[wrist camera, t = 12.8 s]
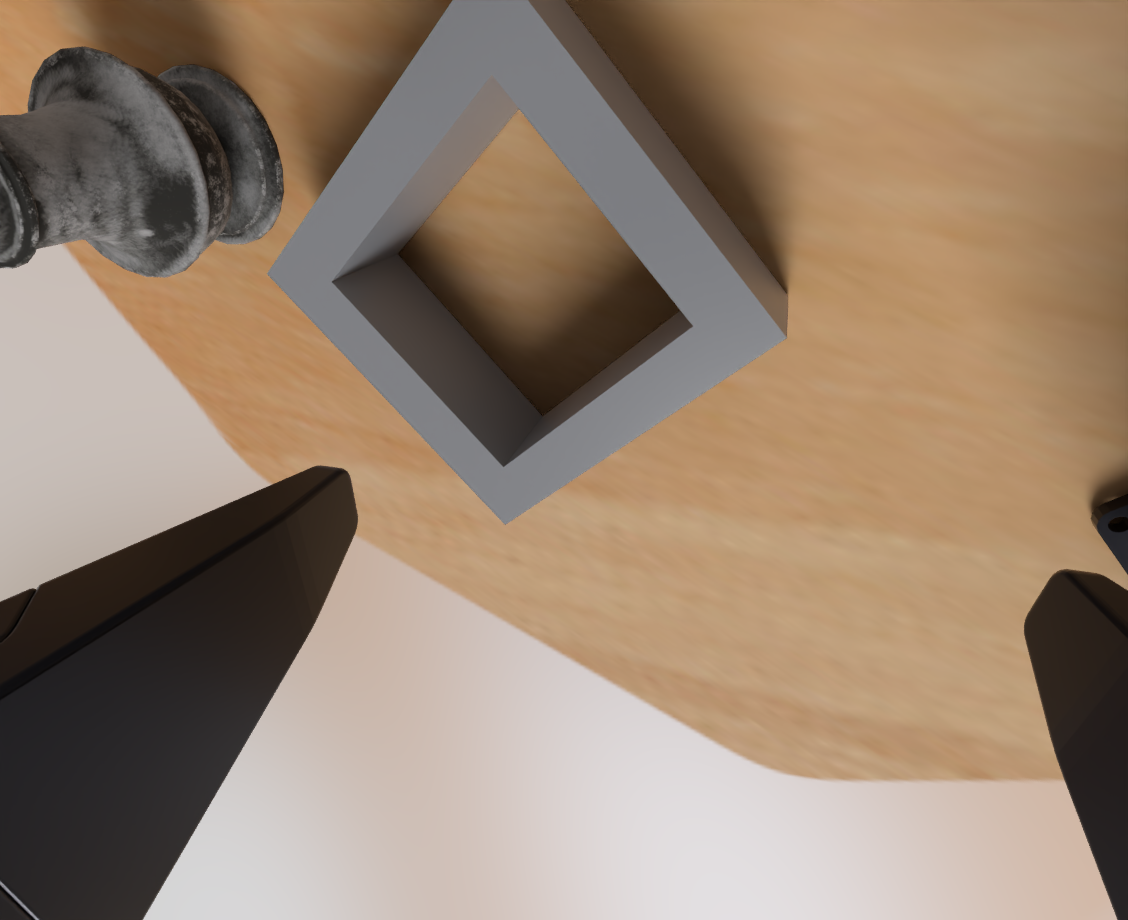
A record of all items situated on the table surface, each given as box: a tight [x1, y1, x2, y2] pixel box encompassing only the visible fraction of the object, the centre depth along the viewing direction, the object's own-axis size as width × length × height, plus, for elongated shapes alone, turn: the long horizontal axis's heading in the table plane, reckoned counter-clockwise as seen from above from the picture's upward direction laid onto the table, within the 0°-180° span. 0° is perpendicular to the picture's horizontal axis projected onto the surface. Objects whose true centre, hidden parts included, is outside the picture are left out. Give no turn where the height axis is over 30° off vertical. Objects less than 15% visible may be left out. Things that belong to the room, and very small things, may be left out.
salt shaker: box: [0, 47, 284, 277], centre depth 16 cm, size 6×6×12 cm
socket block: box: [267, 0, 788, 525], centre depth 17 cm, size 10×10×4 cm
